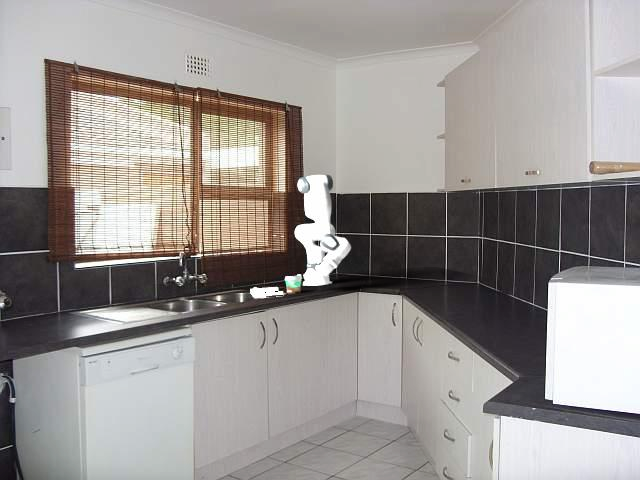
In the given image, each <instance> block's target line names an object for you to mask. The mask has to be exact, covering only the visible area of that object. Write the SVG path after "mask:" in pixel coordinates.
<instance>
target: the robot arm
mask: <svg viewBox="0 0 640 480" xmlns="http://www.w3.org/2000/svg"><path fill="white" fill-rule="evenodd" d="M333 185H334V180H333V178H332V176H331V175H330V174H315V175H308V176H302V177H300V178H299V179H298V181H297V188H298V191H299V192H300V193H301V194H304V197H303V199H304V212H305V216H306V217H307V218H309V219H311V220H313V221H314V223H304V224H299V225H297V226H296V228H295V230H294V236H295V238H296V240H298V241H299V242H300V243H301V244H302V245H303V246H304V248H305V250H306V255H307V256H306V257H307V264H306V268H307V269H306V272H305V273H304V274H303V278H304V281H303V282H302V286H324V285H330V284H333V281H330V273H332V272H333V271H334V269H337V268H338V266H339V264H340V263H341V262H342V260H343V259H344V258H345V257H346V256H348V254H349V252H351V249H352V245H351V242H350V241H349V240H348V239H347V238H345V237H341V236H340V237H339V236H337V235H336V229H335V227H334V225H333V224H332V223H331V215H332V198H331V193H330V191H331V190H332V189H333V187H334V186H333ZM317 241H320V244H319V245H320V246H319V245H317V244H316V243H315V242H317ZM325 254H326V255H325Z"/></svg>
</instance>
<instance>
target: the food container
mask: <svg viewBox="0 0 640 480" xmlns="http://www.w3.org/2000/svg"><path fill="white" fill-rule="evenodd" d="M302 279H303V277H302V274H297V275H294V276H293V275H292V276H285V278H284V281H285V284H286V293H287V294H296V293H295V292H299V293H301V291H302V290H301V289H302Z"/></svg>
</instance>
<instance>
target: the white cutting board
mask: <svg viewBox="0 0 640 480" xmlns="http://www.w3.org/2000/svg"><path fill="white" fill-rule="evenodd" d="M275 291H278V292H275ZM265 292H266V293H265ZM250 294H251V295H252V297H253V298H254V299H259V298H262V297H263V298H267V297H266V296H272V295H283V296H284V291H283V290H282V291H279V287H277V286H275V287H274V286H273V287H262V288H258V287H256V286H255V287H253V288H250Z"/></svg>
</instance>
